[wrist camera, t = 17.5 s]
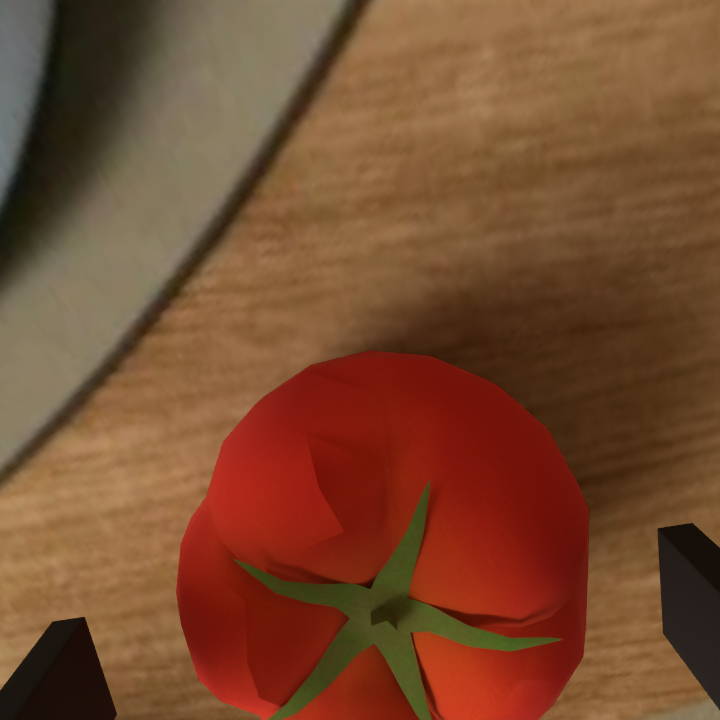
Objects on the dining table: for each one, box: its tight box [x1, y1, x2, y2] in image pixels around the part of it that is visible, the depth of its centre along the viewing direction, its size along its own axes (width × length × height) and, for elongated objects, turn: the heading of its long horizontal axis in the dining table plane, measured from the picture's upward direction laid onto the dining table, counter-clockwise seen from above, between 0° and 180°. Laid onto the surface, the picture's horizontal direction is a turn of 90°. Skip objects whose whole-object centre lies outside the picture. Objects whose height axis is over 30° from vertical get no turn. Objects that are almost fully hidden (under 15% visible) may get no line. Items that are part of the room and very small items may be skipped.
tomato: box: [176, 351, 589, 720], centre depth 16 cm, size 11×11×8 cm
